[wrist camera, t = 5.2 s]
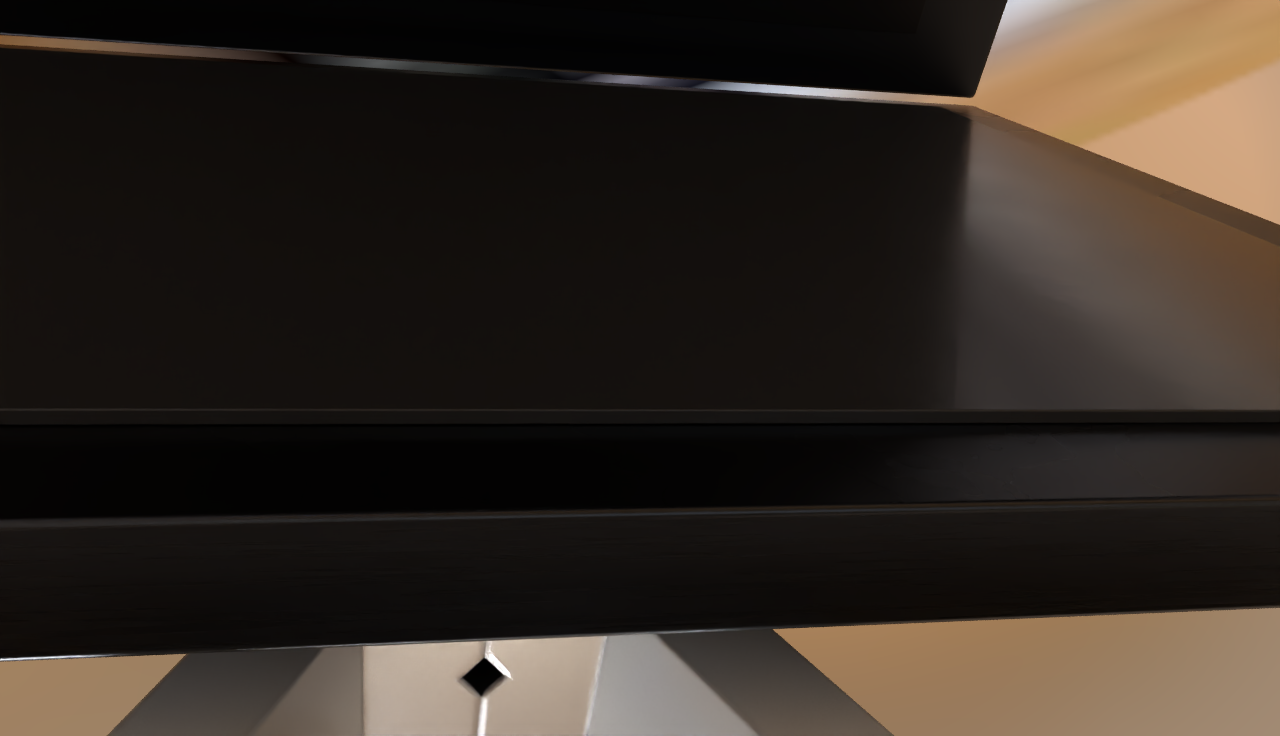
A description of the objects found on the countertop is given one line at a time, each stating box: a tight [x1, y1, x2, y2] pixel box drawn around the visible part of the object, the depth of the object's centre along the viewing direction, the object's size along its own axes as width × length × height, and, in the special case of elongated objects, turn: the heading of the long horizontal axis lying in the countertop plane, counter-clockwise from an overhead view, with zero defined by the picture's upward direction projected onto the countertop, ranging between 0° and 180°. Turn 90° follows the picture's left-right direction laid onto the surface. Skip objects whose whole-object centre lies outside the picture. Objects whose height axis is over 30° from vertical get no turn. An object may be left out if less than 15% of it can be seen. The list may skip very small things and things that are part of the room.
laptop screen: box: [0, 44, 1280, 661], centre depth 13 cm, size 15×20×1 cm
